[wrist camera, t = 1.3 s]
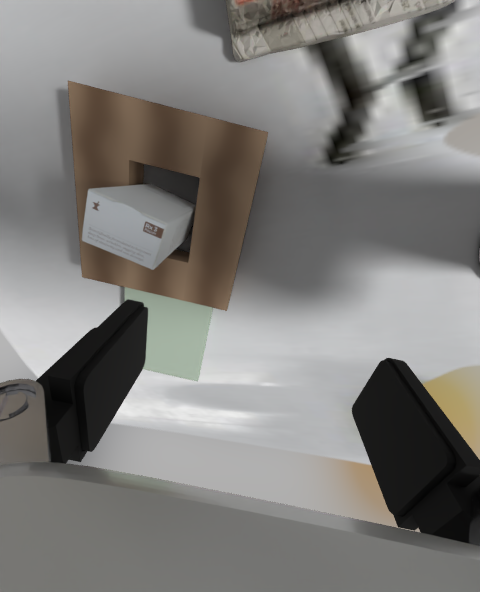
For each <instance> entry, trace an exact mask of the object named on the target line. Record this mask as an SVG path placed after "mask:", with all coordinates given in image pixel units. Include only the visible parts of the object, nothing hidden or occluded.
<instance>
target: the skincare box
mask: <svg viewBox="0 0 480 592" xmlns="http://www.w3.org/2000/svg"><path fill="white" fill-rule="evenodd" d="M195 210H196V205H195V204H192V203H190V202H188V201H186V200H184V199H182V198H180V197H178V196H176V195H174V194H171V193H169V192H167V191H165V190H163V189H161V188H159V187H157V186H155V185H153V184H141V185H130V186H118V187H104V188H92V189H89V190H88V194H87V201H86V208H85V216H84V223H83V231H82V241H84V242H86V243H89V244H91V245H94V246H96V247H99V248H101V249H103V250H106V251H108V252H111V253H113V254H116V255H118V256H121V257H123V258H125V259H128V260H130V261H133V262H135V263H137V264H140V265H142V266H145V267H147V268H150V269H152V270H154V269H155V268H156V267H157V266H158V265H159V264H160V263H161V262H162V261H163V260H164V259H165V258H167V257H168V256H169V255H170V254H171V253H172V252H173V251H174V250H175V249H176V248H177V247H178V246H179V245H180V244H181V243H182V242H184V240H186V239H187V237H188V234H189V231H190V228H191V226H192V223H193V220H194V217H195Z"/></svg>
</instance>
